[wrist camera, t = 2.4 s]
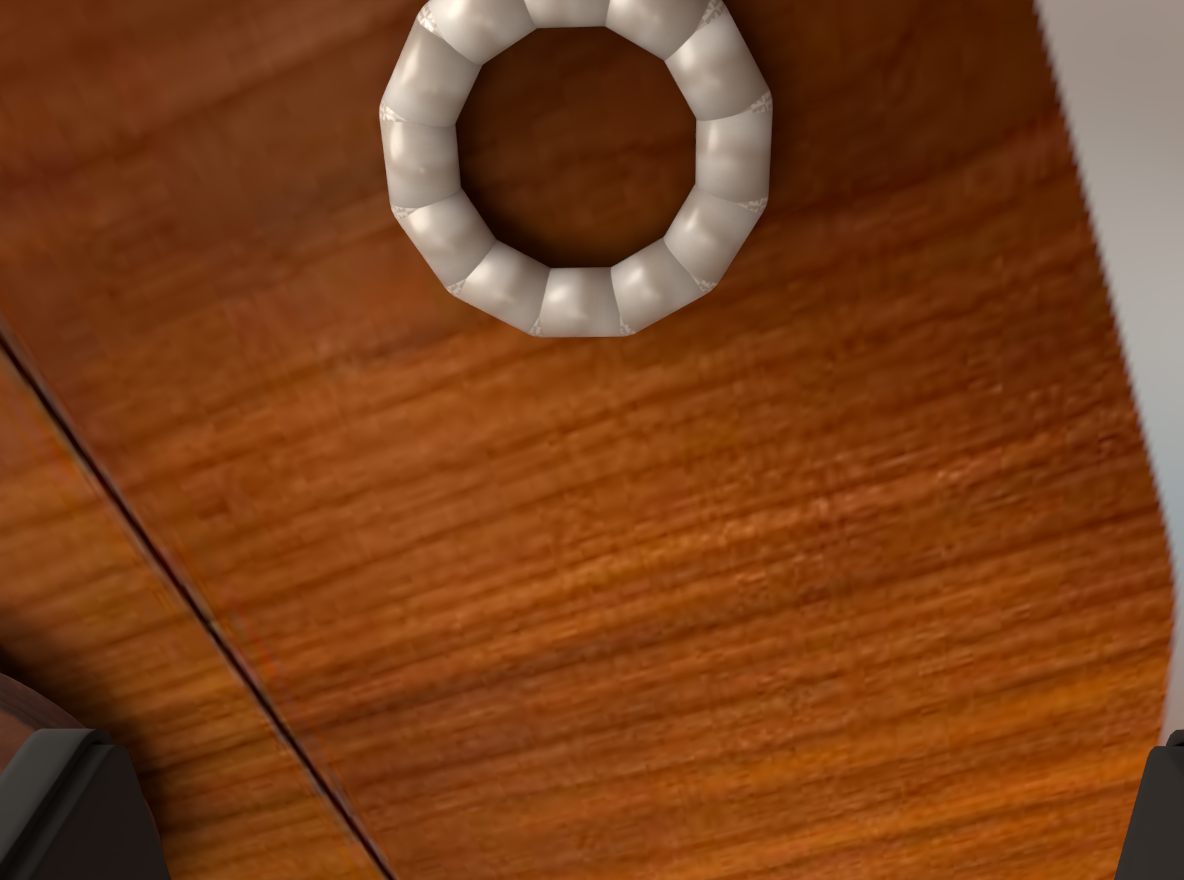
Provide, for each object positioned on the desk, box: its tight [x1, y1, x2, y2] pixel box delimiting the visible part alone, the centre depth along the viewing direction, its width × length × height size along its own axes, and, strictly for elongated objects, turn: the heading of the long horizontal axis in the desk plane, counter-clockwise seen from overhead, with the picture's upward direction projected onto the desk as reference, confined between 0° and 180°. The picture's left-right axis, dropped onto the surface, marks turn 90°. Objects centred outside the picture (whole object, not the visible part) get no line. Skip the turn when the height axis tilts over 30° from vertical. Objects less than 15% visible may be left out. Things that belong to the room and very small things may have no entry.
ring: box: [379, 0, 773, 337], centre depth 23 cm, size 8×8×2 cm
